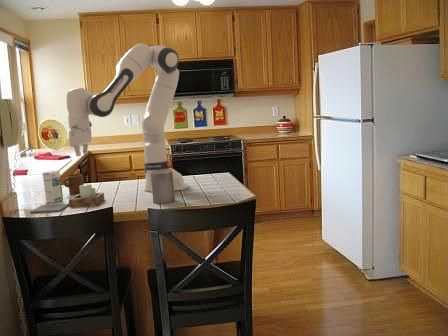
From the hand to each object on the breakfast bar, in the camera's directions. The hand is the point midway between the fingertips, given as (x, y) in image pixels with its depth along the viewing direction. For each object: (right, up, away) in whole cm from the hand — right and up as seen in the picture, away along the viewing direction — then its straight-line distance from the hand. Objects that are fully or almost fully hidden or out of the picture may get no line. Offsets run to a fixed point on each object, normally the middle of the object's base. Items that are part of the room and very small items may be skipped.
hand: (82, 154), depth 225 cm
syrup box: (-17, -22, +15) cm, 32 cm away
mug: (-13, -20, +30) cm, 38 cm away
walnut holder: (+2, -22, +3) cm, 23 cm away
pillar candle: (+38, -21, -4) cm, 43 cm away
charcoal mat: (-13, -24, -4) cm, 28 cm away
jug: (+2, -22, +3) cm, 23 cm away
